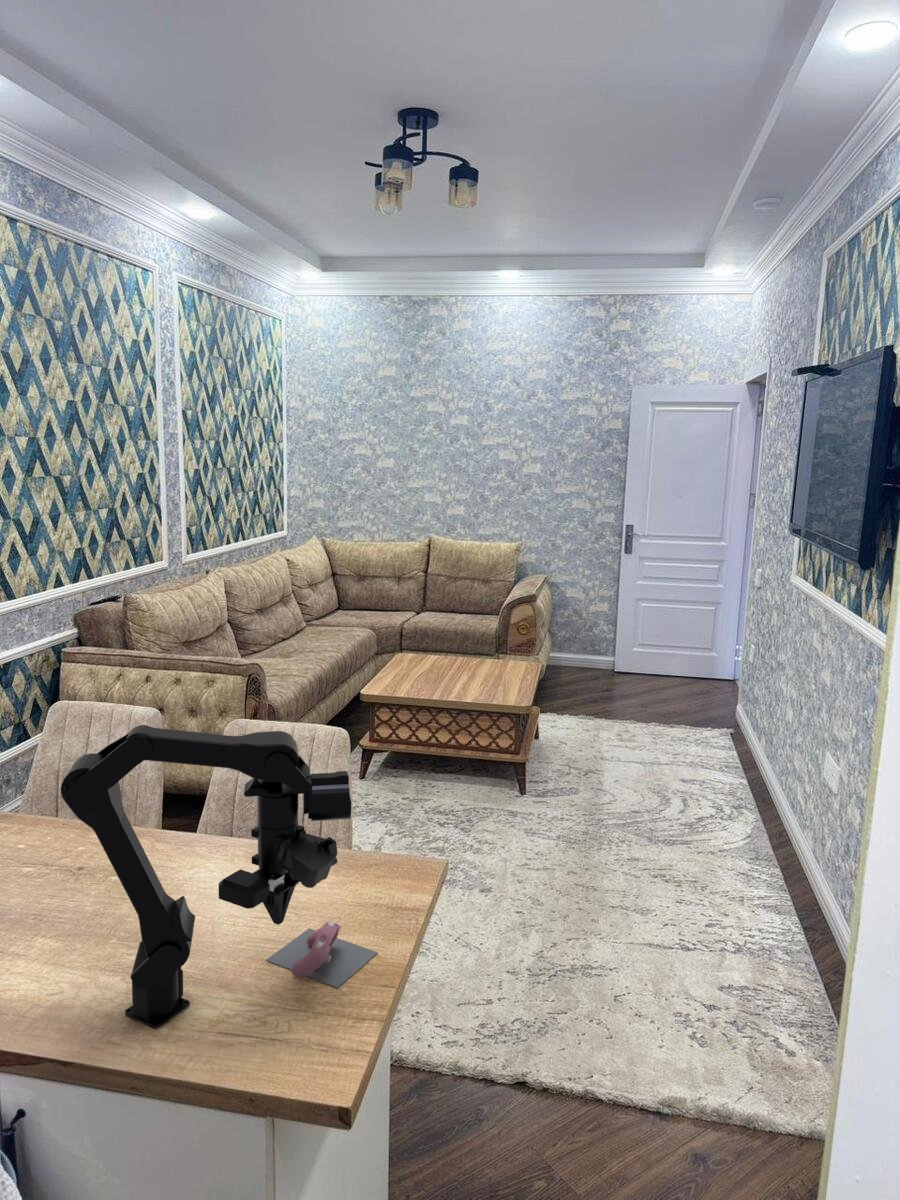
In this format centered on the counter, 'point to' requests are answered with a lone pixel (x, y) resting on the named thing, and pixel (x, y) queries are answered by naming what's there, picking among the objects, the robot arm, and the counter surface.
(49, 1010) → the counter surface
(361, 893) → the counter surface
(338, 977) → the mat
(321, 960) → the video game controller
